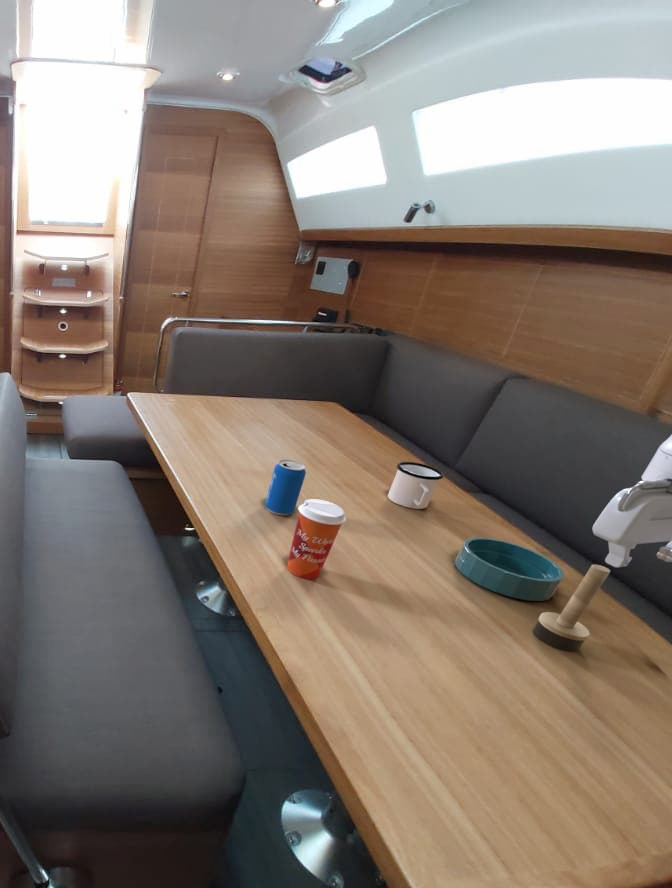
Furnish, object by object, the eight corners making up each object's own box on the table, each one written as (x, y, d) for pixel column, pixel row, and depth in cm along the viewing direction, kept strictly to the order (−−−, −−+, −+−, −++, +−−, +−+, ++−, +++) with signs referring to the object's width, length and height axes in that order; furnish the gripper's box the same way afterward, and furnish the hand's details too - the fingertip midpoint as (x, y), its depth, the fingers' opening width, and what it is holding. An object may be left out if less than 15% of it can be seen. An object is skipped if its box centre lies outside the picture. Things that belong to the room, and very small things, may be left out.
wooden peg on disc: (567, 632, 83) (613, 562, 77) (588, 656, 78) (639, 583, 72) (524, 623, 85) (566, 553, 79) (542, 646, 80) (588, 574, 74)
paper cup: (280, 575, 95) (300, 511, 89) (281, 555, 101) (300, 494, 95) (326, 587, 92) (350, 522, 86) (324, 566, 98) (346, 503, 92)
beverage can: (260, 502, 122) (272, 457, 117) (288, 505, 121) (301, 460, 116) (268, 515, 116) (281, 468, 111) (297, 518, 115) (311, 471, 110)
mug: (380, 490, 131) (392, 459, 127) (421, 496, 128) (435, 464, 124) (394, 511, 120) (408, 477, 116) (439, 518, 118) (455, 484, 114)
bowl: (528, 568, 100) (540, 547, 98) (567, 612, 88) (582, 589, 86) (443, 551, 105) (453, 531, 102) (469, 591, 92) (481, 569, 90)
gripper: (664, 492, 63) (608, 581, 69) (787, 483, 66) (723, 569, 72) (605, 472, 69) (558, 555, 75) (721, 464, 72) (667, 545, 78)
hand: (640, 562), depth 73 cm, fingers open, 8 cm apart
